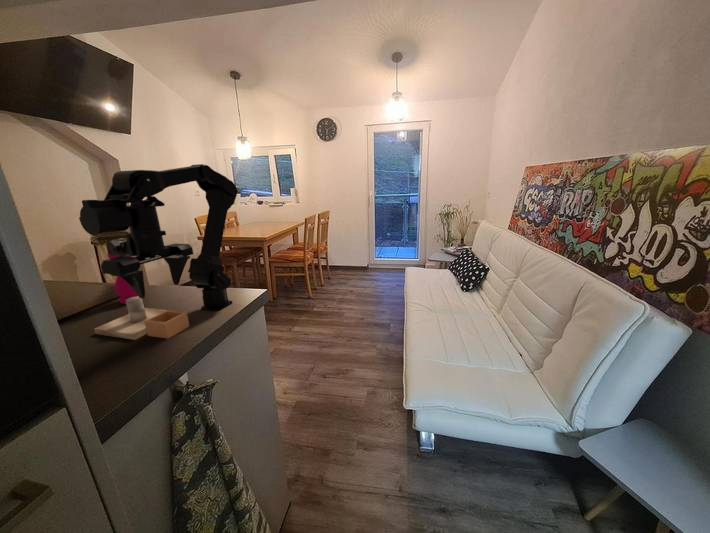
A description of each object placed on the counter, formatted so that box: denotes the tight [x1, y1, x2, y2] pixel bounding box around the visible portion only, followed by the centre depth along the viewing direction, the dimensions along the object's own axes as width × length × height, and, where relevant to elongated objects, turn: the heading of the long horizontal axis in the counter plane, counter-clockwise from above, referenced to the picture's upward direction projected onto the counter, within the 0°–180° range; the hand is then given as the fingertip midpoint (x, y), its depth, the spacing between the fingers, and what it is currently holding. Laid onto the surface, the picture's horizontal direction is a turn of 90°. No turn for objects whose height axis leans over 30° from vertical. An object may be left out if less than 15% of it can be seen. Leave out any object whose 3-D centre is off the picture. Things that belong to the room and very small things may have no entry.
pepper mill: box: [106, 252, 138, 305], centre depth 89 cm, size 7×7×20 cm
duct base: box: [94, 296, 180, 341], centre depth 74 cm, size 13×13×8 cm
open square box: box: [144, 309, 190, 340], centre depth 71 cm, size 6×6×4 cm
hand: (160, 291), depth 68 cm, fingers open, 9 cm apart
